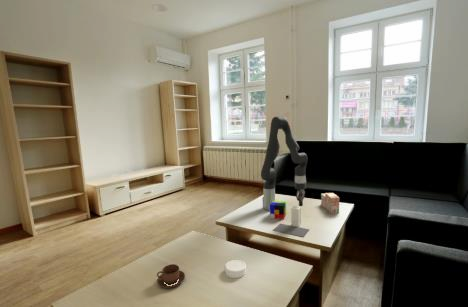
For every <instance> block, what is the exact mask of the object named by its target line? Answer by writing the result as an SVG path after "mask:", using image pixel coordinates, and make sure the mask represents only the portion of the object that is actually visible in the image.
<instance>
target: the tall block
mask: <svg viewBox="0 0 468 307" xmlns="http://www.w3.org/2000/svg"><path fill="white" fill-rule="evenodd" d="M290 218H291V219H290V222H291V223H290V226H295V227H300V226H301V225H302V206H295V205H294V206H292V207H291V208H290Z"/></svg>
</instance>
